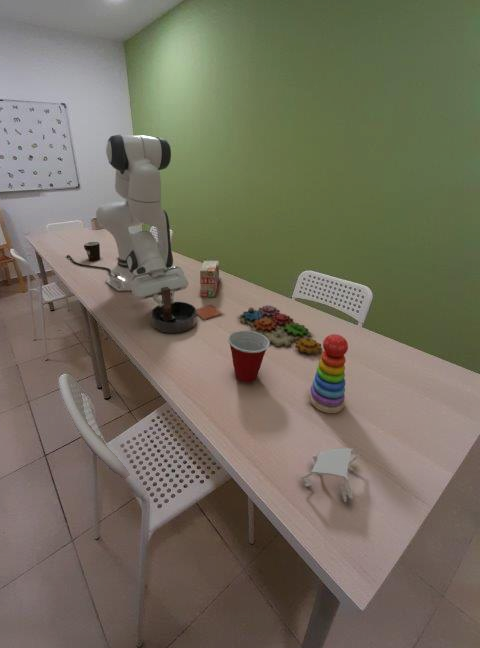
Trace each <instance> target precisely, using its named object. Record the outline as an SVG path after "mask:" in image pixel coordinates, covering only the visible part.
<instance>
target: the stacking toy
mask: <svg viewBox="0 0 480 648" xmlns="http://www.w3.org/2000/svg"><path fill="white" fill-rule="evenodd" d="M322 349H323V352H322V353H321V355H320V357H321V358H320V359H319V360H318V365H317V367H316V372H315V375H314V378H313V380H312V385H311V387H310V391H309V392H308V399H309V402H310V403H311V404H312V406H313V407H315V408H316V409H317V410H319V411H321V412H323V413H326V414H327V413H328V414H336V413H339V412H341V411H342V410H343V409H344V408H345V393H346V378H345V377H346V373H345V371H346V365H345V364H346V361H347V360H346V356H345V355H346V354H347V352H348V350H349V343H348V341H347V340H346V338H345V337H343V336H342V335H340V334H337V333H333V334H328V335H327V336H326V337H325V338H324V340H323V342H322Z"/></svg>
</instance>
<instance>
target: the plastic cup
mask: <svg viewBox="0 0 480 648" xmlns="http://www.w3.org/2000/svg"><path fill="white" fill-rule="evenodd" d="M227 342H228V344H229V347H230V351H231V358H232V366H233V369H234V375H235V378H236V380H237V381H239V382H242V383H244V384H249V383H253V382H256V380H257V378H258V375H259V371H260V369H261V366H262V363H263V359H264V356H265V355H266V352H267V350H268V349H269V347H270V344H271V343H270V342H269V340H268V339H267V337H265V336H264V335H262V334H260V333H259V332H254V331H252V330H248V329H244V330H236V331H233V332H231V333H230V334H228V336H227Z"/></svg>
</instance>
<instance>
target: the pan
mask: <svg viewBox="0 0 480 648" xmlns="http://www.w3.org/2000/svg"><path fill="white" fill-rule="evenodd" d="M174 302H175V303H174V304H171V310H172V315H173V316H174V317H175V318H176V322H164V321H160V315H162V314H163V307H159V304H158V305H157V306H155V307H154V308H153V309H152V310H151V313H150V314H151V323H152V327H154V328H155V330H158V331H160V332H163V333H167V334H179V333H184V332H186V331H188V330H190V329H191V328H193V327H195V325H196V324H197V319H198V318H197V316H198V315H197V313H196V309H197V308H196V306H194V305H192V304H191V303H188V302H184V301H174Z"/></svg>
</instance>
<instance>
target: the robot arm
mask: <svg viewBox="0 0 480 648" xmlns="http://www.w3.org/2000/svg"><path fill="white" fill-rule="evenodd" d="M105 153H106V157H107V160H108V163H109V165H111V167H112V168H113V169H115V175H114V176H115V177H114V189H115V192H116V194H117V195H118V196H119V197H121V198H123V199H124V200H123V201H114V202H113V201H112V202H108V203H104V204H102V205H99V206H98V207H97V209H96V212H95V219H96V222H97V224H98V225H99V226H100V227H101V228H102V229H103V230H105V231H107V232H108V233H109V234H111V236H112V237H113V239H114V241H115V243H116V244H115V245H116V247H117V255H118V257H116V258H115V259H116V261H117V264H116V265H115V266H114V267H113V268H108V267H104V266H96V265H90V264H83V263H79V262H77V261H75V260H74V259H73V257H72V256H71V255H70V254H67V255H66V258H69V259H70V260H71V261H72V263H73V264H74V265H77V266H81V267H88V268H94V269H101V270H107V271H108V273H109V276H110V277H109V278H108V279H107V280H106V283H107V284H108V286H110V287H112V288H113V289H115V291H117V292H125V291H131V293H132V297H133V299H134V300H135V301H137V302H138V301H142V300H147V299H150V298H152V299H153V301H154V302H156V303H157V304H158V305H159V307H164V306H165V304H164V301H162V299H160V298H159V297H160V296H162V294H161V288H163V287H169V288H170V294H171V304H174V303H175V302H176V301H175V299H174V297H175V292H180V291H184V290H186V289H187V287H188V286H189V281H188V279H187V277H186V275H185V273H184V270H183V267H181V266H178V265H174V257H173V256H174V255H173V251H172V243H171V242H172V241H171V229H170V220H169V216H168V213H167V212H166V210H164V209H163V207H162V179H161V172H160V171H162V170H165V169H167V168H168V167H169V166H170V163H171V159H172V149H171V145H170V143H169V141H168V140H167V139H164V138H162V137H158V136H157V137H154V136H149V135H143V134H139V135H136V134H132V135H131V134H127V135H126V134H125V135H122V134H114V135H111V136H110V137H109V138H108V139H107V143H106V148H105ZM143 225H148V226H151V227H154V228H155V229H156V233H157V240H156V237H155V236H154V234H153V233H152V232H151V231H149V230H142V231H138V232H135V233H131V232H130V230H129V228H130V227H137V226H143ZM173 265H174V266H173Z"/></svg>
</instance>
